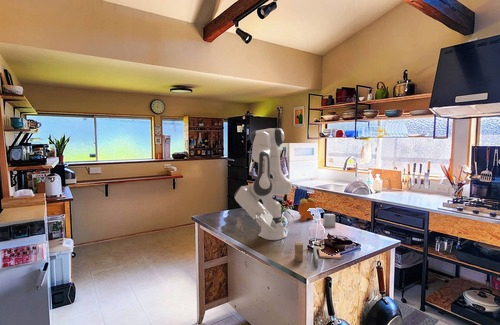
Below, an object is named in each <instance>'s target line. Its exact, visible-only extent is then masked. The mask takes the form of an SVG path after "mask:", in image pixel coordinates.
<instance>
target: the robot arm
mask: <svg viewBox="0 0 500 325" xmlns="http://www.w3.org/2000/svg"><path fill="white" fill-rule="evenodd" d="M284 142H285V132H284V130H283V129H282V128H279V127H275V128H265V129H258V130H253V131H252V132H251V134H250V143H251V145H252V148H251V149H252V152H251V156H252V159H253V161H255V163H258V167H257V168H258V169H257V177H256V178H255V180H254V181H253V183H250V184H248V185H241V186H240V187H238V189H237V190H236V192H235V193H234V195H233V196H234V197H233V198H234V199H235V201H236V203H238V204H239V206H240V207H241V208H242V209H244V210H245V211H246V213H247V214H248V215H249V216H250V217H251V218H252V219H253V220H255V221H256V223H257V224H258V225H259V227H260V233H258V237H261V238H262V239H264V240H270V241H277V240H281V239H285V238H287V234H286V232H285V228H284V224H283V222H282V219H283V218H282V205H281V203H280V202H279V201H278V200H275V199H273V196H284V195H288V194H289V195H290V193H291V191H292V189H293V184H292V182H291V180H290V179H289V178H288V177H286V176H285V175H284V173H283V170H282V166H281V154H280V148H281V145H283V143H284ZM271 176H272V178H271ZM260 200H261V201H262V203H261V202H260Z"/></svg>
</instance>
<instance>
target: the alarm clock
mask: <svg viewBox="0 0 500 325" xmlns="http://www.w3.org/2000/svg"><path fill="white" fill-rule="evenodd" d="M314 203H315V200H314V199H313V198H311V197H308V198H307V199H306V198H302V199H300V200H299V205H298V208H297V211H298V214H299V215H300V217H299V220H301V221H303V222H304V221H306V220H307V219H310V220H314V219H313V218H314V215H313V216H312V215H311V214H310V212H309V211H307V210H308V209H309V208H315V209H316V206H315V204H314Z"/></svg>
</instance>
